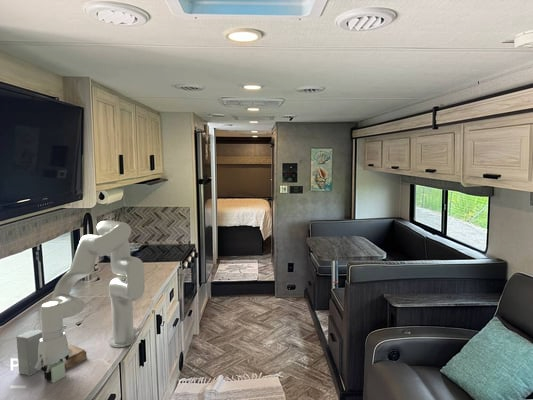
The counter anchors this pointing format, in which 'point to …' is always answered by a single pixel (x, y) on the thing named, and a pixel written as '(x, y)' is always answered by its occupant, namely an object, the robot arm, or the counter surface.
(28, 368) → the skincare box
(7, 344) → the counter surface
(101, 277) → the counter surface
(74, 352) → the walnut pedestal
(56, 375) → the sage block
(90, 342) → the counter surface
